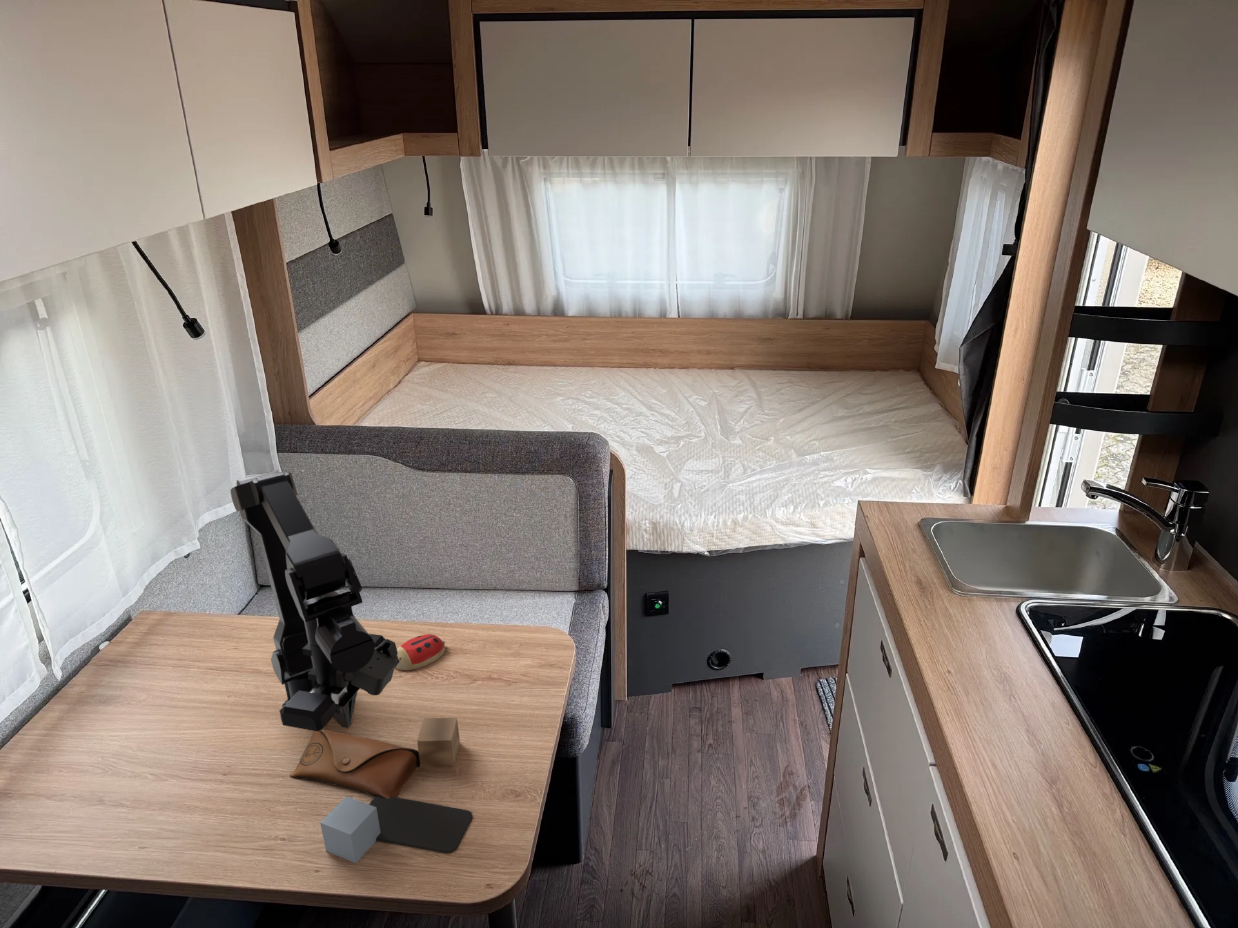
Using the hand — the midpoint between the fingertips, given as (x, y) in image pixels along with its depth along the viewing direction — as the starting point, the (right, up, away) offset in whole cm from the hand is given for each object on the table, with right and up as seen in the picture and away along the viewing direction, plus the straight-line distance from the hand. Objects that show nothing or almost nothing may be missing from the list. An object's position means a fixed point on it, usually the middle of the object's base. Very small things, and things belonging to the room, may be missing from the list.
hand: (346, 726), depth 122 cm
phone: (+11, -12, -6) cm, 17 cm away
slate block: (+4, -13, -9) cm, 16 cm away
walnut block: (+12, -6, +6) cm, 15 cm away
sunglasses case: (0, -8, +4) cm, 9 cm away
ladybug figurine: (+4, +3, +29) cm, 29 cm away
